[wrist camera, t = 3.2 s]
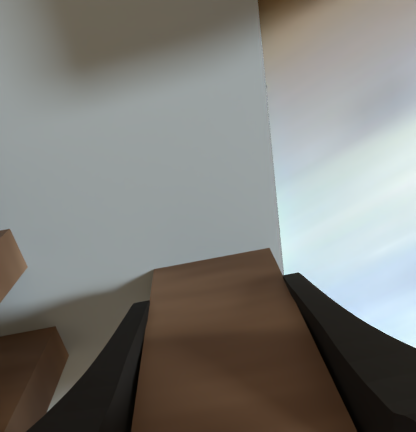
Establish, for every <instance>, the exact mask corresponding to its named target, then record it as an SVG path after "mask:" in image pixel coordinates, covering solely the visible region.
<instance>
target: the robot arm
mask: <svg viewBox="0 0 416 432" xmlns="http://www.w3.org/2000/svg"><path fill="white" fill-rule="evenodd" d="M283 279H284V282H285V284H286V286H287V288H288V290H289V292H290V294H291V296H292V298H293V299H294V301H295V302H296V304H297V306H298V308H299V310H300V313H301V315H302V317H303V319H304V321H305V323H306V325H307V327H308V329H309V331H310V334H311V336H312V338H313V340H314V342H315V344H316V346H317V348H318V350H319V352H320V354H321V357H322V359H323V361H324V363H325V365H326V367H327V369H328V371H329V373H330V375H331V378H332V380H333V382H334V384H335V386H336V388H337V390H338V392H339V394H340V396H341V398H342V401H343V403H344V405H345V407H346V409H347V411H348V413H349V415H350V417H351V419H352V422H353V424H354V426H355V428H356V430H357V432H416V348H414V347H412V346H410V345H408V344H405V343H403V342H401V341H399V340H397V339H395V338H393V337H391V336H389V335H387V334H385V333H383V332H381V331H380V330H378V329H376V328H374V327H373V326H371V325H369V324H367V323H366V322H364V321H362V320H361V319H359V318H358V317H356V316H355V315H353V314H352V313H350V312H349V311H347V310H346V309H344V308H343V307H341V306H340V305H339V304H337V303H336V302H335V301H333V300H332V299H331V298H329V297H328V296H327V295H326V294H324V293H323V292H322V291H321V290H319V289H318V288H317V287H316V286H314V285H313V284H312V283H311V282H310V281H308V280H307V279H306V278H305V277H304V276H303V275H301V274H300V273H293V274H288V275H283ZM149 306H150V301H149V300H148V301H142V302H137V303H133V305H132V306H131V307H130V309H129V310H128V312H127V314H126V315H125V317H124V318H123V320H122V322H121V323H120V325H119V326H118V328H117V329H116V331H115V332H114V334H113V335H112V337H111V338H110V340H109V341H108V343H107V344H106V345H105V347H104V348H103V350H102V351H101V352H100V354H99V355H98V356H97V358H96V359H95V360H94V362H93V363H92V364H91V366H90V367H89V368H88V369H87V371H86V372H85V373H84V374H83V375H82V377H81V378H80V379H79V380H78V381H77V382H76V383H75V384H74V386H73V387H72V388H71V389H70V390H69V391H68V392H67V393H66V394H65V395H64V396H63V397H62V398H61V399H60V400H59V401H58V402H57V403H56V404H55V405H54V406H53V407H52V408H51V409H50V410H49V411H48V412H47V413H46V414H45V415H44V416H43V417H42V418H41V419H40V420H38V421H37V422H36V423H35V424H34V425H33V426H32V427H31V428H29V429H28V430H27V431H26V432H131V428H132V421H133V414H134V407H135V400H136V393H137V386H138V378H139V371H140V364H141V357H142V350H143V343H144V336H145V329H146V325H147V321H148V314H149Z"/></svg>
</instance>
